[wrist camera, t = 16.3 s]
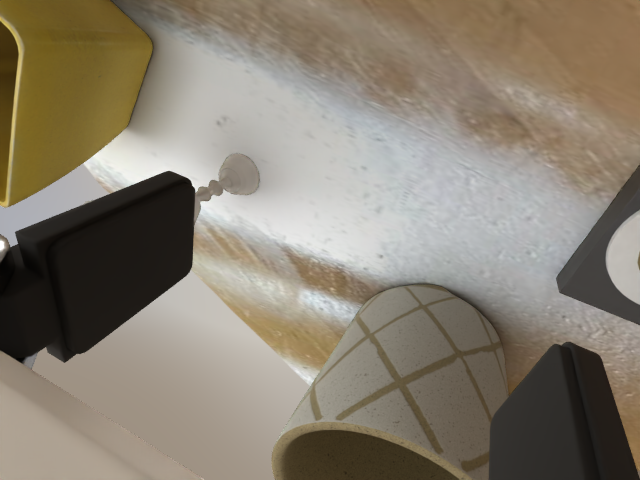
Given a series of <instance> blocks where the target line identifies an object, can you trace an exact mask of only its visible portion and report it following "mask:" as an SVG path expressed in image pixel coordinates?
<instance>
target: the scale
mask: <svg viewBox="0 0 640 480" xmlns="http://www.w3.org/2000/svg"><path fill="white" fill-rule="evenodd" d="M639 252H640V165H639V167H638V168H637V169H636V171H635V172H634V173H633V175H632V176H631V177H630V179H629V180H628V181H627V183H626V184H625V186H624V187H623V188H622V190H621V191H620V192H619V194H618V195H617V196H616V198H615V199H614V200H613V202H612V203H611V205H610V206H609V207H608V209H607V210H606V211H605V213H604V214H603V215H602V217H601V218H600V219H599V221H598V222H597V223H596V225H595V226H594V228H593V229H592V230H591V232H590V233H589V234H588V236H587V237H586V238H585V240H584V241H583V242H582V244H581V245H580V247H579V248H578V249H577V251H576V252H575V253H574V255H573V256H572V257H571V259H570V260H569V261H568V263H567V264H566V265H565V267H564V268H563V270H562V271H561V272H560V274H559V275H558V276H557V278H556V280H557V284H558V288H559V292H560V293H562V294H564V295H567V296H569V297H572V298H574V299H577V300H579V301H581V302H584V303H586V304H589V305H591V306H594V307H596V308H599V309H601V310H604V311H606V312H609V313H611V314H614V315H616V316H619V317H621V318H624V319H626V320H629V321H631V322H634V323H636V324H639V325H640V270H639V267H638V263H637V262H638V257H639Z"/></svg>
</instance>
